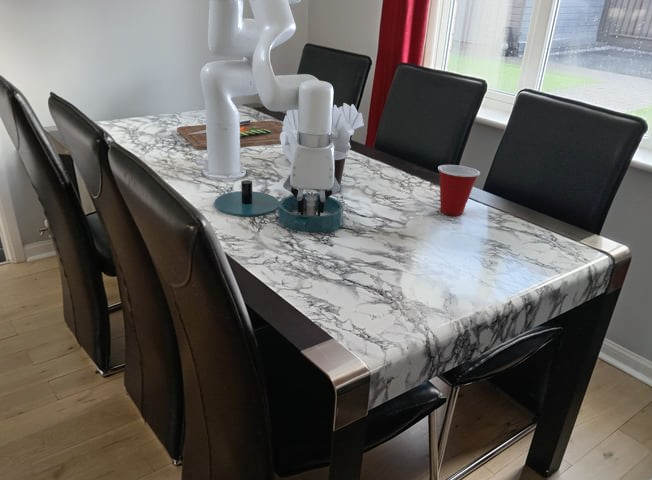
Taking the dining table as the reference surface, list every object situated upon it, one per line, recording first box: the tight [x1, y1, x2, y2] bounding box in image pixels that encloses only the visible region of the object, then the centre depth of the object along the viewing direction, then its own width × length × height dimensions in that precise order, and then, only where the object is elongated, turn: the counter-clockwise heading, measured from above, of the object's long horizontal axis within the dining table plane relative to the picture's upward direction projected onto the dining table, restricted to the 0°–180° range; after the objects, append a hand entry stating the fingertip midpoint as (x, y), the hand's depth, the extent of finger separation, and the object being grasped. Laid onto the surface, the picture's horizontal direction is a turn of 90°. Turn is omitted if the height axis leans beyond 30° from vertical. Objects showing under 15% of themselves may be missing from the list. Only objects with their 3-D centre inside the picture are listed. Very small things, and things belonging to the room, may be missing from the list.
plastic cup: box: [437, 164, 481, 217], centre depth 151 cm, size 11×11×12 cm
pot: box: [277, 192, 344, 234], centre depth 142 cm, size 16×21×4 cm
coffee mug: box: [325, 151, 347, 191], centre depth 163 cm, size 12×9×10 cm
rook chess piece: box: [304, 191, 318, 216], centre depth 138 cm, size 4×4×8 cm
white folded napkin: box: [280, 102, 365, 164], centre depth 185 cm, size 18×18×25 cm
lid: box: [214, 179, 280, 218], centre depth 148 cm, size 17×17×7 cm
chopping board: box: [171, 119, 283, 151], centre depth 208 cm, size 45×27×3 cm, turn 117°
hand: (310, 214), depth 138 cm, fingers closed on rook chess piece, 3 cm apart
